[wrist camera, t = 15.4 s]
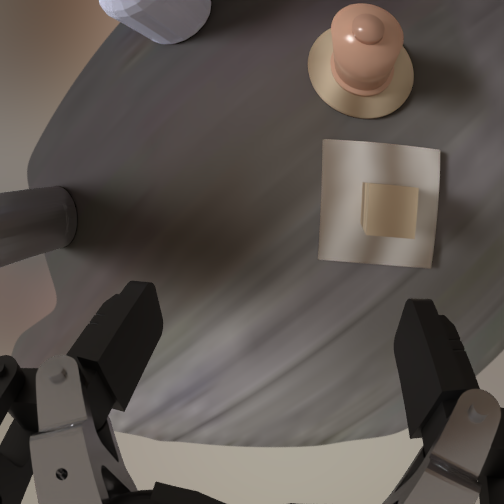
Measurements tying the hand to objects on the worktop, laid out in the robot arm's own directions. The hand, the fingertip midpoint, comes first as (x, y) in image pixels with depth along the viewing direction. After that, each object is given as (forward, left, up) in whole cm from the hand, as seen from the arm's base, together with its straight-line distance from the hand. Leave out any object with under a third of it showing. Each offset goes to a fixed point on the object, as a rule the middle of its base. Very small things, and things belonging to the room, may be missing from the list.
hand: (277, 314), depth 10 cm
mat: (+4, +16, -24) cm, 29 cm away
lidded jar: (+4, +16, -23) cm, 29 cm away
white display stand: (+6, +2, -24) cm, 25 cm away
